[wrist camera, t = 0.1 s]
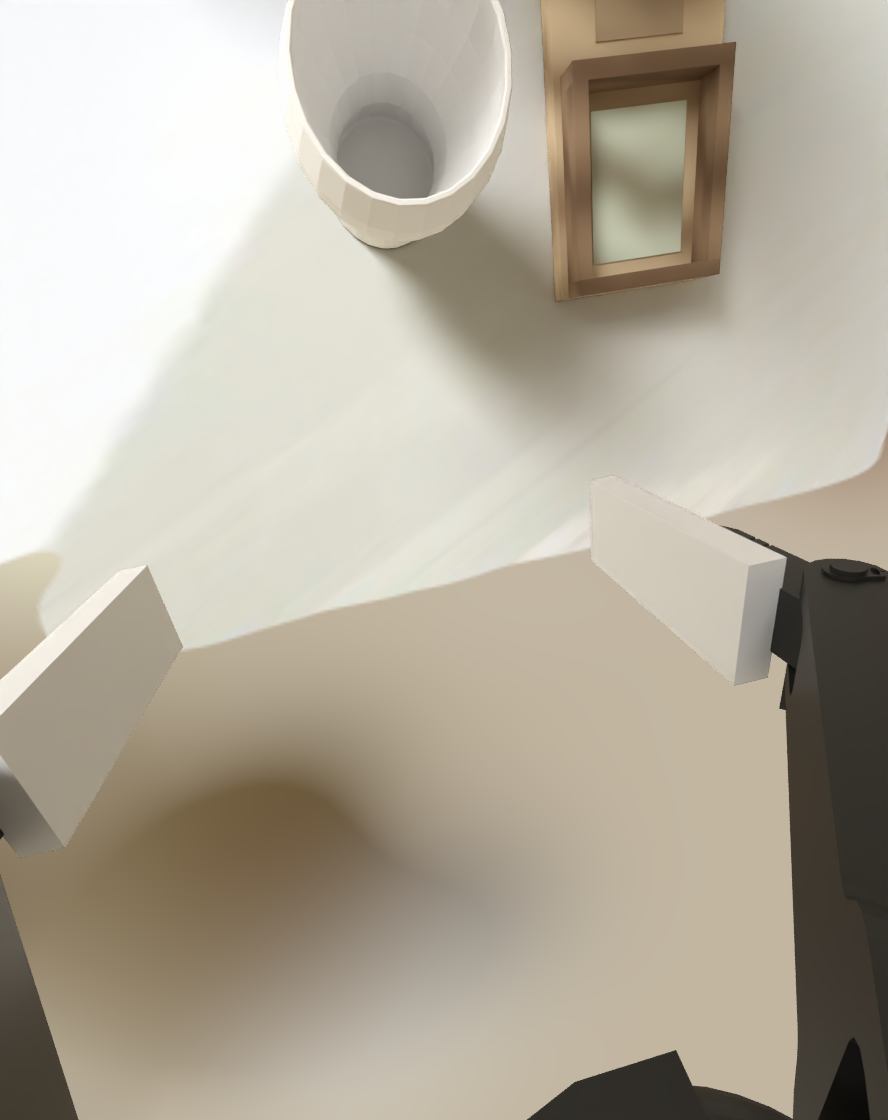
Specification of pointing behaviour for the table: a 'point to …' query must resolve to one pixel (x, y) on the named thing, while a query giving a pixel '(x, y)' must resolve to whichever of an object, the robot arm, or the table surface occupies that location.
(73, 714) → the robot arm
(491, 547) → the table surface
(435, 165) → the cup
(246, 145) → the table surface
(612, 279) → the holder board
